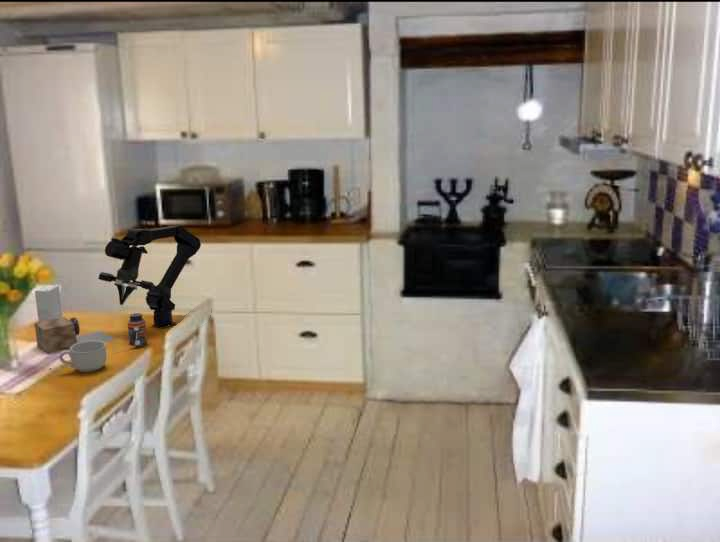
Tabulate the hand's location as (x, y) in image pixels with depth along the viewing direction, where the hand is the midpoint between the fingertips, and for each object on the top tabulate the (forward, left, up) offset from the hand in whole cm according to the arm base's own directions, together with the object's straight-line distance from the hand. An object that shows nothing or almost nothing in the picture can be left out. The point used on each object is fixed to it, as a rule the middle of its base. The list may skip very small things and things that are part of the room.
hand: (121, 304), depth 245 cm
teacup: (+29, +14, -13) cm, 35 cm away
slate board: (+13, -10, -13) cm, 21 cm away
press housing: (+19, -12, -12) cm, 25 cm away
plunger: (+17, -11, -9) cm, 23 cm away
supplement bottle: (+4, +11, -13) cm, 18 cm away
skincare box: (-1, -43, -13) cm, 44 cm away
